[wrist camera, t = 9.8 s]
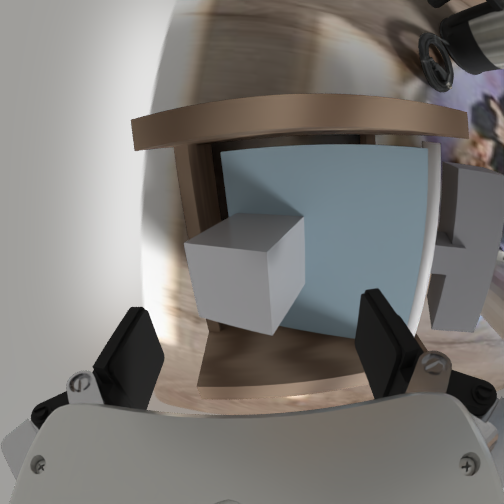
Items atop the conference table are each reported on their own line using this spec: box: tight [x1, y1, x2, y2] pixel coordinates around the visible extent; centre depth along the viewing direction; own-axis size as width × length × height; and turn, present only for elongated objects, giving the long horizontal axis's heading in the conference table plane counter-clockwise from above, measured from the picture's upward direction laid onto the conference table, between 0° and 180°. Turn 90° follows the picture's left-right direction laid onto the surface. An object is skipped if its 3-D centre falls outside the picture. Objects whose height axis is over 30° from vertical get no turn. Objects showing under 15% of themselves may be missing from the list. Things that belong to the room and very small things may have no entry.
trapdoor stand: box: [131, 94, 469, 399], centre depth 22 cm, size 18×19×16 cm
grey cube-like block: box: [184, 213, 305, 336], centre depth 17 cm, size 5×5×6 cm
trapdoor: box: [221, 141, 504, 339], centre depth 19 cm, size 20×15×6 cm
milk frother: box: [418, 0, 504, 92], centre depth 13 cm, size 14×16×15 cm
